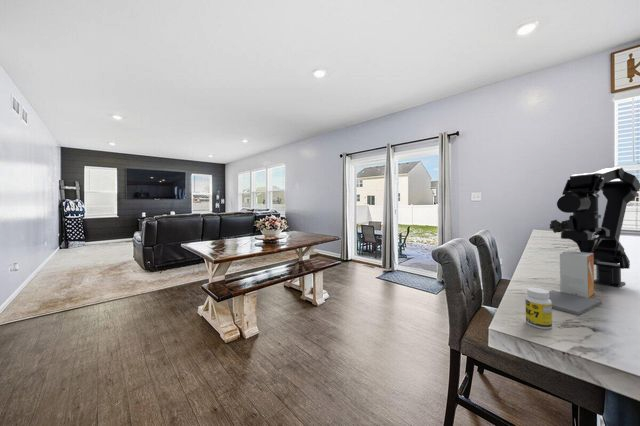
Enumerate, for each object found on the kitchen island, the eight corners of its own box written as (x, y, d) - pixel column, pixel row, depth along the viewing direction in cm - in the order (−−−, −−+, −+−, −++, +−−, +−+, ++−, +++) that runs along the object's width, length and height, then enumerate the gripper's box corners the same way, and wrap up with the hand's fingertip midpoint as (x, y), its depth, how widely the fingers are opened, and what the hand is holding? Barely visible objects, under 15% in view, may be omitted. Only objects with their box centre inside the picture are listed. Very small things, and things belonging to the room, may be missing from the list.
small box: (588, 299, 74) (587, 256, 74) (559, 294, 79) (558, 253, 79) (594, 294, 78) (594, 252, 78) (567, 289, 84) (566, 250, 83)
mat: (552, 292, 81) (552, 290, 81) (601, 303, 71) (601, 300, 71) (528, 301, 74) (528, 299, 74) (578, 315, 64) (578, 312, 64)
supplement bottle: (520, 321, 62) (519, 287, 62) (538, 319, 63) (537, 286, 62) (539, 330, 57) (538, 294, 57) (557, 328, 58) (557, 292, 58)
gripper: (565, 211, 93) (566, 253, 93) (540, 212, 85) (541, 258, 85) (610, 211, 83) (610, 257, 83) (586, 212, 75) (587, 264, 75)
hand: (586, 259), depth 82 cm, fingers closed
